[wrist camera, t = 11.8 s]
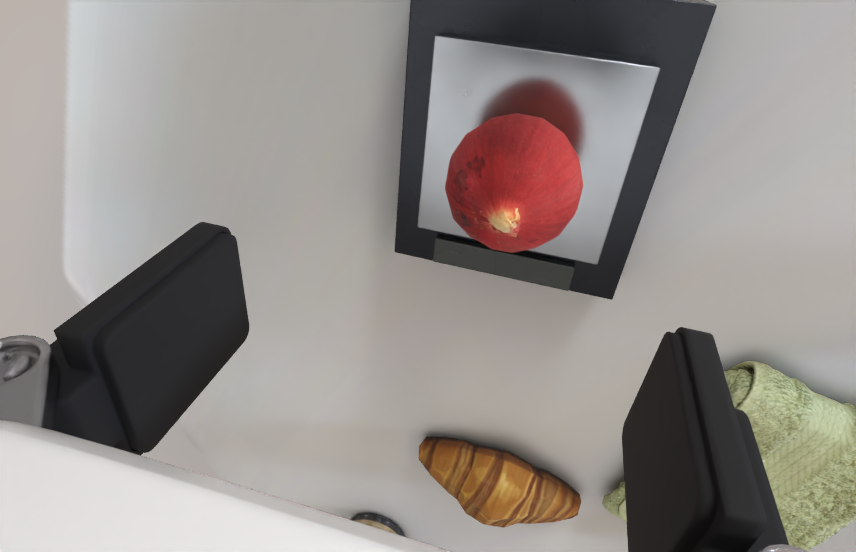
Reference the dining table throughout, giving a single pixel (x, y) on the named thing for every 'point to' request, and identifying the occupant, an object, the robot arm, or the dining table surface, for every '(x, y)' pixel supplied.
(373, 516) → the pill bottle
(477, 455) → the croissant
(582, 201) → the scale pan
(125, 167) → the dining table surface
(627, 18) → the scale
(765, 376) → the washcloth
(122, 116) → the dining table surface
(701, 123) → the dining table surface
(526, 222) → the onion
